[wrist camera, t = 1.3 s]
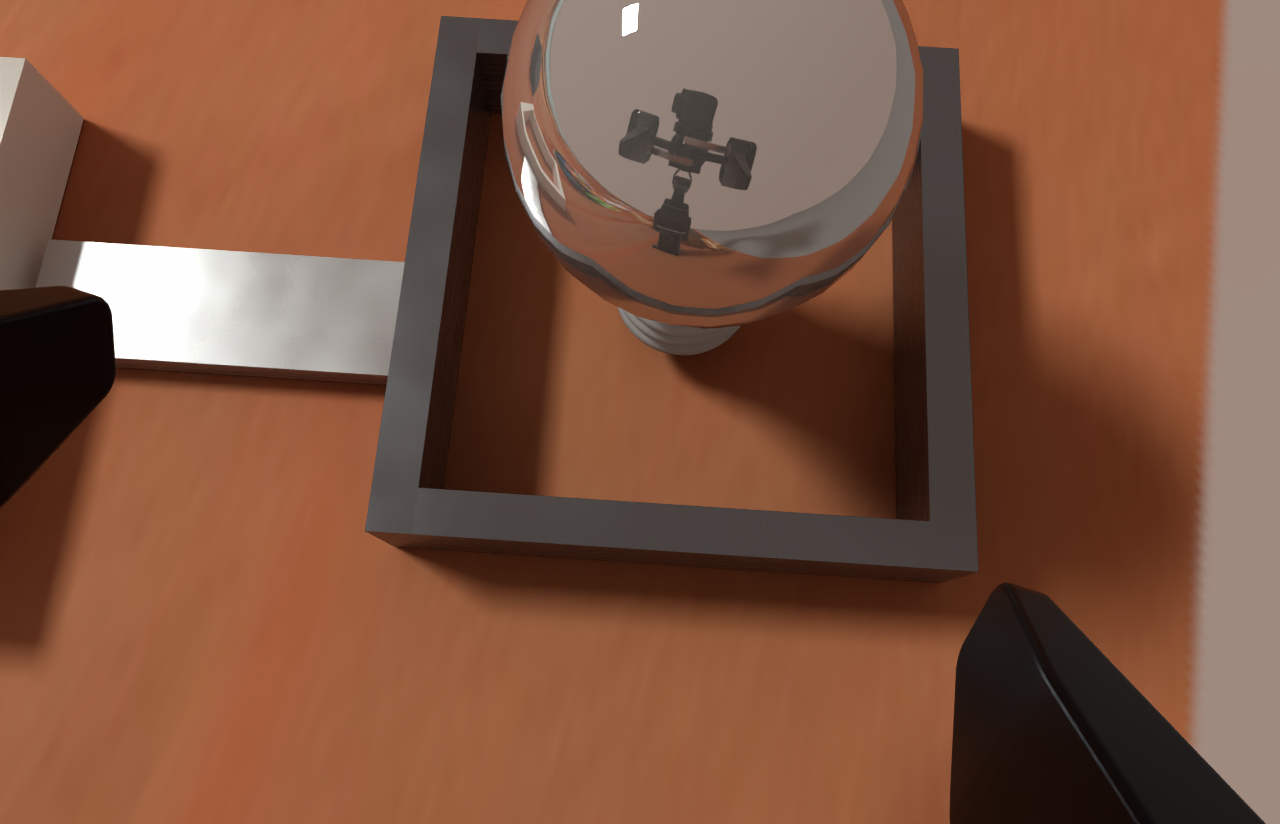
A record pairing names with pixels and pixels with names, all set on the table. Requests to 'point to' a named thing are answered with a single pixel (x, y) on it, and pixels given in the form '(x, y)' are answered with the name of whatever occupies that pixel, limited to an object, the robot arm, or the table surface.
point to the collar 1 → (31, 168)
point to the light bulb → (710, 150)
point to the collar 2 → (664, 533)
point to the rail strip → (238, 309)
